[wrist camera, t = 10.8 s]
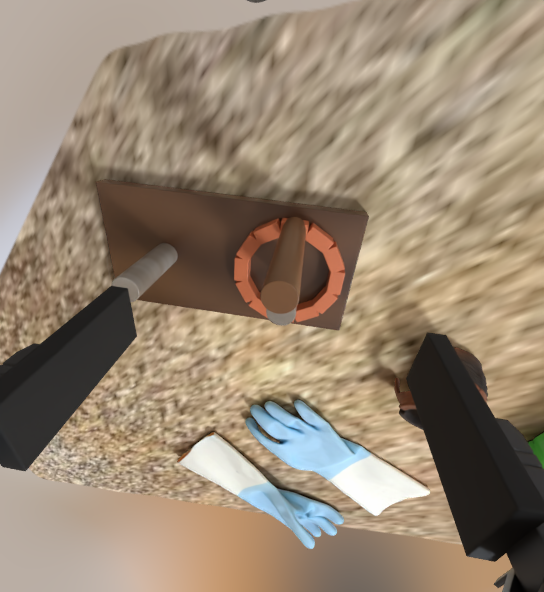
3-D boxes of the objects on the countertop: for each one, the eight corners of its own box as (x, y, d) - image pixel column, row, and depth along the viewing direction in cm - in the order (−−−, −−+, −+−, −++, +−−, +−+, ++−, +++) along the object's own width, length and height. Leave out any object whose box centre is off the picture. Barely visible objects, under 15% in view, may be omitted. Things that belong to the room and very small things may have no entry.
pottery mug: (488, 386, 37) (482, 453, 33) (407, 370, 43) (393, 425, 39) (493, 328, 30) (487, 405, 26) (394, 317, 35) (375, 379, 31)
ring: (239, 207, 28) (184, 267, 17) (354, 222, 27) (382, 294, 16) (235, 307, 34) (193, 403, 22) (331, 321, 33) (339, 428, 22)
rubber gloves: (278, 379, 41) (272, 419, 35) (430, 488, 48) (445, 535, 43) (178, 455, 53) (162, 493, 48) (312, 531, 61) (311, 572, 55)
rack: (104, 179, 30) (25, 200, 22) (366, 211, 28) (386, 247, 20) (125, 291, 37) (70, 339, 28) (338, 323, 35) (345, 384, 27)
